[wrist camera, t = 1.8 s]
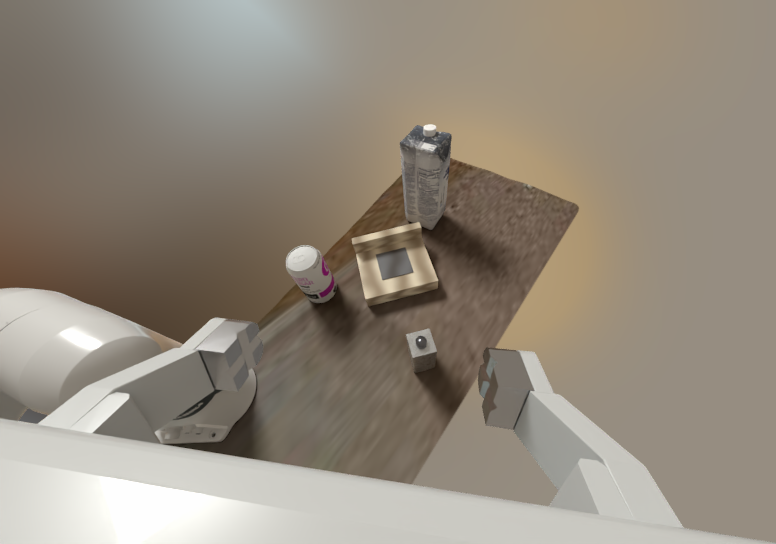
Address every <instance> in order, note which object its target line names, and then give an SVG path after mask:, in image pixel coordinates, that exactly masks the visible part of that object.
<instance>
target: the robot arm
mask: <svg viewBox="0 0 776 544" xmlns="http://www.w3.org/2000/svg"><path fill="white" fill-rule="evenodd" d="M258 332H259V328H258V325H257V324H256V323H254V322H247V321H240V320H232V319H223V318H213V319H211V320H210V321H209V322H208V323H207V324H206V325H204V326H203V327H202V328H201V329H200V330H199V331H198V332H197V333H196V334H195V335H193V336H192V337H191V338H190V339H189V340H188V341H187V342H186V343H185V344H181V343H179V342H177V341H174V340H172V339H170V338H167V337H165V336H163V335H161V334H158V333H156V332H154V331H152V330H149V329H147V328H145V327H143V326H141V325H138V324H136V323H134V322H131V321H129V320H127V319H124V318H122V317H120V316H117V315H115V314H112V313H110V312H108V311H105V310H103V309H100V308H98V307H95V306H92V305H88V304H85V303H83V302H81V301H79V300H76V299H74V298H71V297H69V296H67V295H64V294H62V293H58V292H54V291H46V290H38V289H27V288H8V289H0V544H776V543H773V542H767V541H761V540H754V539H748V538H742V537H736V536H730V535H723V534H717V533H711V532H705V531H698V530H692V529H686V528H683V527H682V525H681V523H680V522H679V520H678V518H677V517H676V515H675V513H674V512H673V510H672V509H671V507H670V506H669V504H668V503H667V501H666V499H665V498H664V496H663V494H662V493H661V491H660V489H659V488H658V486H657V485H656V483H655V481H654V480H653V478H652V477H651V475H650V474H649V472H648V470H647V469H646V467H645V466H644V465H643V464H642V463H641V462H639V461H638V460H637V459H636V458H635V457H633V456H632V455H631V454H630V453H629V452H627V451H626V450H625V449H624V448H622V447H621V446H620V445H619V444H618V443H617V442H615V441H614V440H613V439H612V438H611V437H610V436H608V435H607V434H606V433H605V432H604V431H602V430H601V429H600V428H599V427H598V426H596V425H595V424H594V423H593V422H592V421H590V420H589V419H588V418H587V417H586V416H585V415H583V414H582V413H581V412H580V411H579V410H577V409H576V408H575V407H574V406H573V405H571V404H570V403H569V402H568V401H566V400H565V399H564V398H563V397H562V396H561V395H559V394H554V392H553V390H552V387H551V385H550V383H549V381H548V379H547V377H546V375H545V373H544V371H543V368H542V367H541V364H540V362H539V360H538V358H537V356H536V354H535V353H534V352H529V351H516V350H507V349H497V348H487V347H486V349H485V350H484V353H483V359H484V363H483V364H482V365H480V369H479V375H478V385H479V392H480V395H481V396H482V397H483V398H484V401H483V405H482V408H483V413H484V418H485V424H486V425H487V426H493V427H499V428H505V429H511V430H514V432H515V434H516V435H517V436H518V438H519V439H520V440H521V442H522V443H523V444H524V446H525V447H526V448H527V450H528V451H529V452H530V454H531V455H532V456H533V457H534V459H535V460H536V461H537V463H538V464H539V465H540V466H541V468H542V469H543V471H544V472H545V473H546V474H547V476H548V477H549V478H550V480H551V481H552V482H553V484H554V485H555V486H556V488H557V489H558V490H559V491H558V493H557V494H556V496H555V497H554V499H553V500H552V502H551V504H550V505H549V507H548V506H542V505H535V504H530V503H523V502H517V501H510V500H505V499H498V498H492V497H486V496H480V495H474V494H467V493H461V492H455V491H449V490H442V489H436V488H430V487H424V486H418V485H411V484H405V483H399V482H393V481H387V480H380V479H374V478H368V477H362V476H356V475H349V474H343V473H337V472H331V471H325V470H319V469H312V468H306V467H300V466H294V465H288V464H281V463H275V462H269V461H263V460H256V459H250V458H244V457H238V456H231V455H225V454H219V453H213V452H206V451H200V450H194V449H188V448H182V447H175V446H169V445H163V444H181V443H205V442H221V441H223V440H224V439H225V438H226V436H227V435H228V433H229V431H230V430H231V428H232V426H233V425H234V424H235V423H236V422H237V421H238V420H239V419H240V418H241V417H242V416H243V415H244V413H245V412H246V411H247V409H248V408H249V406H250V404H251V403H252V400H253V398H254V395H255V391H256V376H255V373H254V371H253V369H252V368H253V367H255V366H256V365H257V364H258V362H259V361H260V359H261V356H262V353H263V343H262V340H261V339H260V338H259V337H258V336H257V334H258ZM27 408H29V409H31V410H33V411H36V412H39V413H43V414H46V415H48V416H47V417H46V418H45V419H43V420H42V421H41V422H39V423H38V424H32V423H26V422H20V421H19V419H20V418H21V416H22V415H23V414H24V412H25V411H26V410H27ZM215 433H216V435H215V436H214V434H215Z"/></svg>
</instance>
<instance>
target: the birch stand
mask: <svg viewBox="0 0 776 544" xmlns="http://www.w3.org/2000/svg"><path fill="white" fill-rule="evenodd" d="M352 243H353V246H354V249H355V252H356V256H357V261H358V265H359V270H360V275H361V280H362V285H363V290H364V294H365V299H366V302H367V304H368V306H372V305H376V304H380V303H384V302H388V301H392V300H396V299H400V298H404V297H407V296H411V295H415V294H419V293H423V292H427V291H431V290H435V289H438V278H437V276H436V273H435V271H434V268H433V266H432V263H431V261H430V258H429V255H428V253H427V250H426V248H425V245H424V243H423V240H422V234H421V225H420V223H419V222H417V223H413V224H409V225H405V226H401V227H397V228H393V229H388V230H384V231H380V232H376V233H372V234H368V235H364V236H360V237H356V238H352Z"/></svg>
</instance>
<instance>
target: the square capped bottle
mask: <svg viewBox="0 0 776 544" xmlns="http://www.w3.org/2000/svg"><path fill="white" fill-rule="evenodd" d="M406 337H407V344H408V350H409V355H410V359H411V362H412V366H413V370H414V373H417V372H421V371H425V370H428V369H432V368H435V361H436V354H437V350H436V347H435V344H434V341H433V338H432V335H431V332H430V329H425V330H422V331H418V332H414V333H410V334H406Z"/></svg>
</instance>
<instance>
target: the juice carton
mask: <svg viewBox="0 0 776 544" xmlns="http://www.w3.org/2000/svg"><path fill="white" fill-rule="evenodd" d="M400 150H401V163H402V178H403V191H404V204H405V213H406V218H407V220H408V221H410V222H412V223H417V222H419V223H420V225H421V226H422V227H424V228H427V229H429V230H432V229H433V228H434V226H435V225H436V223H437V222H438V221H439V219H440V218H441V217H442V215H443V213H444V211H445V206H446V196H447V186H448V175H449V164H450V150H451V134H449V133H445V132H436V126H434V125H431V124H429V125H426V126H424V127H421V126H418V125H417V126H415V128H414V129H413V130H412V131H411V132H410V133H409V134H408V135H407V136H406V137H405V139H403V140H402V141H401V142H400Z"/></svg>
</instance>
